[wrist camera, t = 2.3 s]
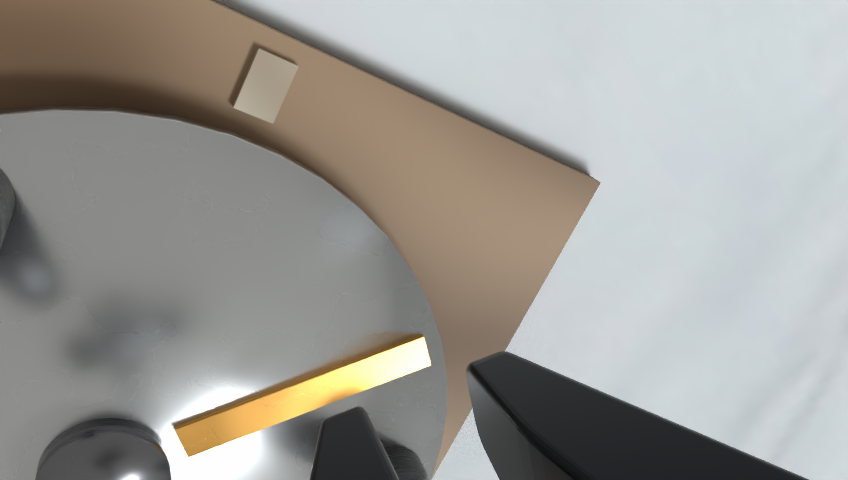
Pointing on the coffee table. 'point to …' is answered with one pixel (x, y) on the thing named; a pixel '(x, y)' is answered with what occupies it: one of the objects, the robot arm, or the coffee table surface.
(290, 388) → the capstan dial
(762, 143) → the coffee table surface
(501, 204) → the stand board
